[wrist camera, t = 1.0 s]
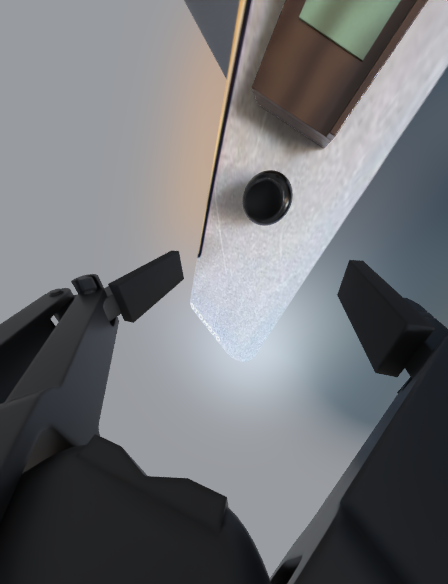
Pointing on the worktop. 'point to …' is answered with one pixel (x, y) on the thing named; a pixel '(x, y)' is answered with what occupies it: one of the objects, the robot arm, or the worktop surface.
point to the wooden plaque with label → (328, 59)
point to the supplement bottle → (267, 197)
